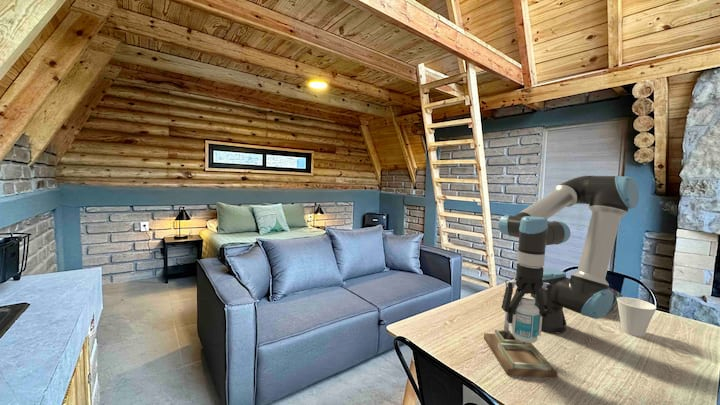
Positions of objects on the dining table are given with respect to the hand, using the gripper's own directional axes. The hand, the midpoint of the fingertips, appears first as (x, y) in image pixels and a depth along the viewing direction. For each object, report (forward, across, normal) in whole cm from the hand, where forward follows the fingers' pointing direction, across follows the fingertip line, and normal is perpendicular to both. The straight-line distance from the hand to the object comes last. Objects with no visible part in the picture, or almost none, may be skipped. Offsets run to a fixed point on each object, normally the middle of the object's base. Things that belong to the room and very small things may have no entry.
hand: (524, 332), depth 98 cm
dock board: (+11, 0, -4) cm, 12 cm away
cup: (+11, -56, -26) cm, 63 cm away
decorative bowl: (+11, -54, -53) cm, 76 cm away
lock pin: (+9, 0, -11) cm, 14 cm away
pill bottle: (+2, 0, 0) cm, 2 cm away
